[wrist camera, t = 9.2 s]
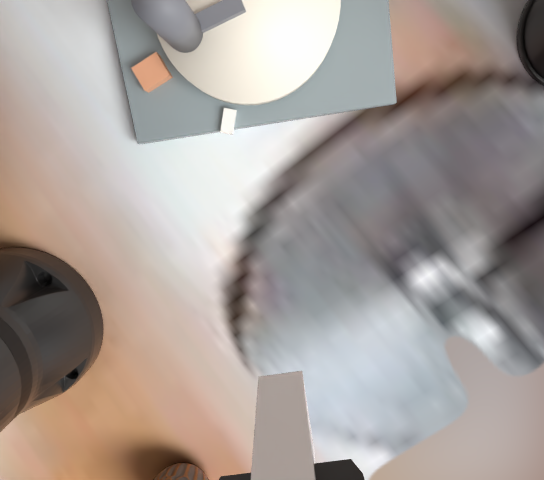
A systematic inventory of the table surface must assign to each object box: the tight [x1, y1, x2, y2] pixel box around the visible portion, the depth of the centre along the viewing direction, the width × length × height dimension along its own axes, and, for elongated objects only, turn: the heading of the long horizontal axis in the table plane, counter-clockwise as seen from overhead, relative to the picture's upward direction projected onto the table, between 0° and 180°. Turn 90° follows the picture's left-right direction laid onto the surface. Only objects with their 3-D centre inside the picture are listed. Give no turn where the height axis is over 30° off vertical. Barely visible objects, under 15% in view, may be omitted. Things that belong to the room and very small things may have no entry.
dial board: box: [107, 0, 397, 144], centre depth 32 cm, size 22×18×2 cm
